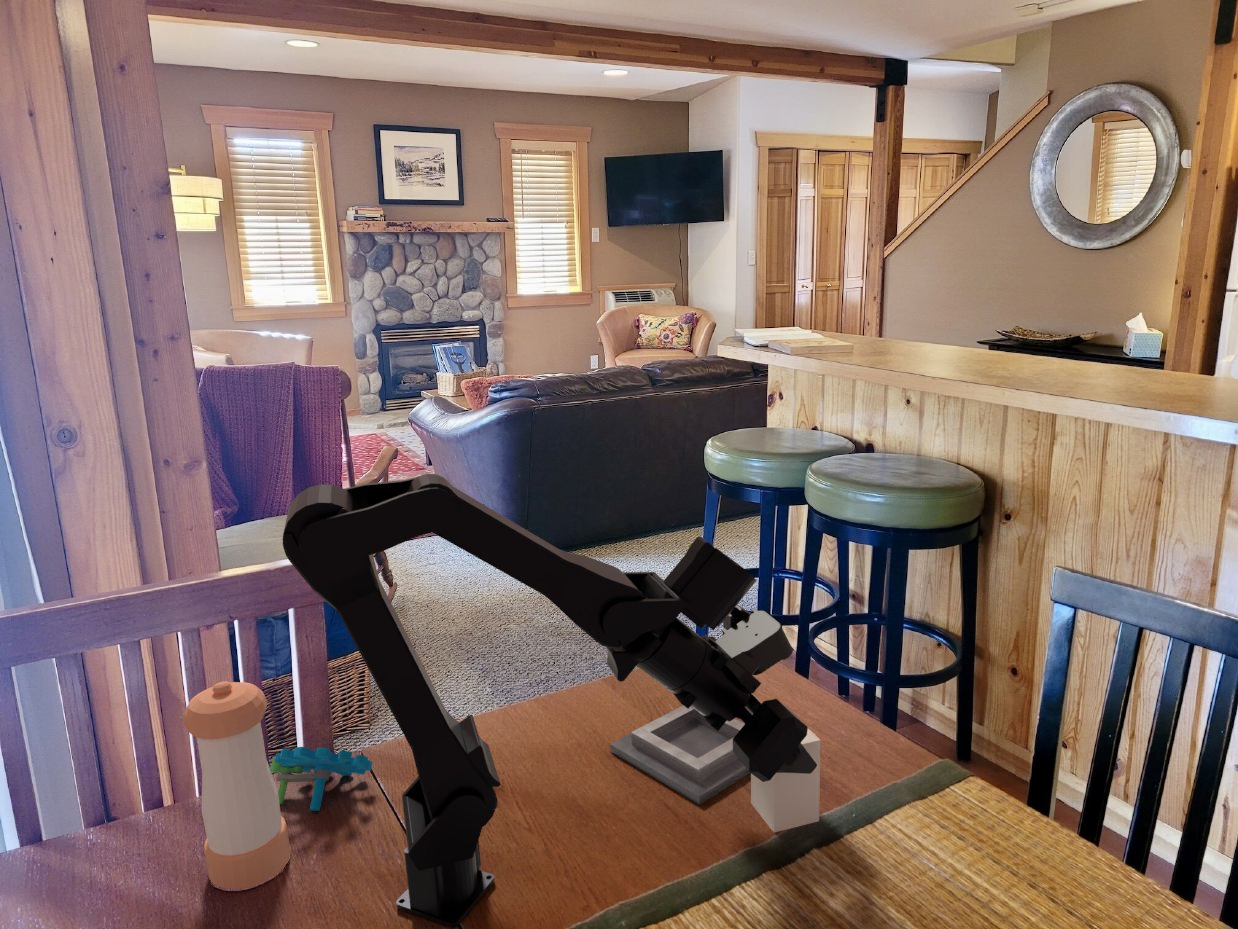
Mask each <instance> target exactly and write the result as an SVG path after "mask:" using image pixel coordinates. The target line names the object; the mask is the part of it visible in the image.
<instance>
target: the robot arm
mask: <svg viewBox="0 0 1238 929" xmlns="http://www.w3.org/2000/svg"><path fill="white" fill-rule="evenodd" d="M289 506H290V507H289V508H288V512H287V515H286V519H285V524H284V529H283V533H282V548H283V550H284V554H285V556H286V558H287V559H288V561H289V562H290V564H291V565H292V567H293V568H294V569H295V570H296V571H297V572H298V574H299V575H300V576H301V577H302V578H303V580H304V581H305V582H306V583H307V585H308V586H309V587H310V588H311V589H312V591H313V592H314V593H316V594H317V595H318V596H319V597H321V598H322V600H323V601H325V602H326V603H327V604H328V605H330V606H331V608H333V609H334V610H335V611H336V613H337V614H338V615H339V617H340V619H341V620H342V622H343V624H344V626H345V628H346V630H347V631H348V633H349V635H350V637H351V639H352V640H353V643H354V644H355V646H356V648H357V650H358V652H359V654H360V655H361V658H362V660H363V661H364V663H365V665H366V666H367V669H368V671H369V672H370V674H371V677H372V678H373V680H374V682H375V683H376V686H377V687H378V690H379V691H380V693H381V695H382V696H383V698H384V701H385V702H386V704H387V706H388V708H389V710H390V712H391V713H392V714H391V715H393V717H394V719H395V721H396V723H397V725H398V726H399V729H400V730H401V732H402V734H403V736H404V738H405V740H406V741H407V744H408V746H409V747H410V750H411V752H412V755H413V761H414V764H415V768H416V772H417V777H416V778H415V780H413V782H412V783H410V785H409V786H408V788H407V789H406V790H405V791H404V792H403V794H402V796H401V798H402V808H403V817H404V824H405V834H406V841H407V842H406V843H407V847H405V849H404V851H403V852H404V853H403V854H404V862H405V863H404V864H405V871H406V880H407V882H406V883H407V889H406V890H405V891H404V892H403V893H402V894H401V895H400V896H399V897H398V898H397V899H396V902H395V904H396V909H398V910H402V911H404V912H407V913H409V914H412V915H415V916H418V917H421V918H424V919H425V920H430V921H432V922H435V923H437V924H438V923H439V924H440V925H444V926H447V927H450V928H455V927H457V926H458V925H459V924H460V923H461V922H462V921H463V920H464V918H465V917H466V916H467V915H468V914H469V912H470V911H471V910H472V909H473V908H474V906H476V904H477V903H478V902H479V901H480V899H482V897H483V896H484V895H485V893H486V892H488V890H489V888H490V887H491V886H492V885H493V884H494V882H495V875H494V874H493V873H490V872H488V871H487V872H486V871H484V870H481V866H482V864H481V863H482V862H481V851H480V842H479V841H480V836H481V833H482V830H483V828H484V827H485V826H486V825H487V824H488V823H489V821H491V819H492V818H493V816H494V814H495V812H496V810H497V809H498V806H499V805H498V803H499V801H498V797H497V794H496V790H495V788H496V787H497V788H498V787H500V786H501V782H500V778H499V775H498V770H497V768H496V766H495V761H494V758H493V756H492V755H493V754H492V752H491V750H490V746H489V744H488V743H487V742H486V741H484V740H483V739H482V738H481V735H480V734H479V731H478V729H477V725H476V722H475V718H474V716H473V714H470V715H468V716H466V717H465V718H464V719H463V720H461V721H460V722H459V721H458V720H457V719H456V718H455V717H453V716H452V715H451V714H450V713H449V712H448V710H447V709H446V708H445V705H444V704H443V702H442V700H441V697H440V696H439V693H438V692H437V690H436V688H435V686H434V684H433V682H432V680H431V678H430V676H429V675H428V672H427V671H426V669H425V667H424V664H423V662H422V660H421V659H420V657H419V655H418V653H417V651H416V649H415V647H414V645H413V643H412V640H411V639H410V637H409V635H408V633H407V631H406V630H405V627H404V625H403V623H402V621H401V619H400V617H399V616H398V614H397V611H396V610H395V606H393V604H392V602H391V600H390V598H389V596H388V594H387V591H386V590H385V587H384V586H383V583H382V582H381V580H380V577H379V573H378V570H377V565H376V561H375V558H374V555H376V554H379V553H382V552H384V551H387V550H389V549H392V548H394V547H396V546H399V545H401V544H403V543H405V542H407V541H410V540H412V539H414V538H417V537H419V536H424V535H428V534H435V535H437V536H438V537H440V538H442V539H443V540H445V541H447V542H449V543H450V544H452V545H454V546H456V547H458V548H460V549H461V550H463V551H465V552H467V553H468V554H470V555H472V556H474V557H475V558H477V559H479V560H481V561H483V562H484V563H486V564H488V565H490V566H491V567H492V568H495V569H497V570H499V571H501V572H502V573H503V574H505V575H507V576H509V577H511V578H512V579H514V580H517V581H518V582H520V583H522V584H523V585H525V586H527V587H528V588H531V589H532V590H534V591H536V592H537V593H539V594H541V595H543V596H545V597H546V598H547V599H548V600H549V601H550V602H552V604H554V605H555V606H556V607H557V608H558V610H560V611H561V612H562V613H563V614H564V615H565V616H566V617H567V618H568V619H569V620H570V621H571V622H573V624H575V625H576V626H577V627H579V629H581V630H582V631H583V632H584V633H585V634H587V635H588V636H589V637H590V638H591V639H592V640H594V641H595V642H596V643H597V644H599V645H600V646H602V647H605V648H606V650H607V658H606V659H607V660H606V665H607V666H608V668H609V669H610V671H611V672H612V674H613V675H614V677H615V679H617V681H618V682H620V683H623V682H624V681H625V680H626V679H627V678H628V677H629V675H631V673H632V672H633V671H634V669H635V668H636V667H637V668H639V669H640V671H643V672H645V674H646V675H648V676H649V677H650V678H652V679H654V680H655V681H656V682H657V683H659V684H660V685H661V686H663V687H664V688H666V689H667V690H668V691H670V693H672V694H673V695H674V697H675V698H676V699H677V701H678V702H679V703H680V704H681V706H683V705H684V706H685V707H686V708H688V709H689V708H690V706H691V707H692V708H694V709H695V710H696V711H698V712H699V713H700V714H702V715H703V717H704V718H705V719H706V720H707V722H708V723H709V724H710V725H711V726H712V727H713V728H715V729H716V730H717V731H719V730H720V728H721V727H722V726H723V725H724V723H725V722H726V721H729V722H730V721H732V720H733V719H739V720H741V722H743V723H745V725H744V726H743V727H742V728H741V729H740V731H739V732H738V733H737V734H736V736H735V737H734V738H733V753H734V754H735V755H736V756H737V758H738V759H739V760H740V761H741V762H742V764H743V765H744V766H745V767H746V769H747V770H748V771H749V772H750V773H749V774H750V775H751V774H753V775H754V776H755V777H757V778H758V779H760V780H761V781H762V782H765V781H770V780H771V779H772V777H773V776H774V775H775V774H776V773H803V774H811V773H812V772H813V771H814V769H815V768H816V767H817V764H816V762H815V761H814V760H813V758H812V757H811V756H810V754H809V753H808V752H807V750H806V749H805V748H804V746H803V745H802V744H801V742H802V740H803V739H804V738H805V737H806V736H807V729H809V727H808V725H807V724H806V723H805V722H803V721H802V720H801V718H800V717H798V716H797V715H796V714H795V713H794V712H793V711H792V710H791V709H790V708H789V707H787V706H786V705H785V704H784V703H783V702H781V701H780V700H779V699H777V698H773V699H768V700H764V701H762V702H761V701H760V700H759V698H757V697H756V695H754V693H755V692H756V691H757V689H758V688H759V687H760V686H761V685H762V682H760V680H759V679H758V678H756V677H755V676H759V675H761V674H763V673H764V672H766V671H767V670H769V669H770V668H772V667H773V666H775V665H776V664H778V663H779V662H780V661H785V660H787V659H788V658H790V657H791V656H792V654H793V651H794V650H793V647H792V645H791V643H790V640H789V639H788V637H787V635H786V633H785V631H784V628H783V627H782V624H781V623H780V622H779V621H778V620H776V619H775V618H774V617H773V616H772V615H770V614H769V613H768V612H766V611H765V610H758V609H756V608H755V607H753V608H752V609H751V612H749V611H748V610H747V609H745V608H743V607H742V606H740V605H739V603H740V602H741V601H742V599H743V598H744V597H745V596H746V594H747V593H748V592H749V591H750V590H751V588H753V586H754V585H755V584H756V582H757V581H758V580H757V579H756V578H755V577H754V576H753V575H752V574H751V573H749V572H748V570H746V569H745V568H744V567H743V566H741V565H740V564H738V563H737V562H736V561H735V560H733V559H732V558H731V557H729V556H728V555H727V554H725V553H724V552H723V551H721V550H720V549H719V548H717V547H715V546H713V545H712V543H710V542H709V541H708V540H706V539H705V538H703V537H702V536H697V537H696V538H695V539H694V541H693V542H692V543H691V544H690V545H689V546H688V549H687V551H686V553H685V554H684V556H683V557H682V558H681V560H679V562H678V563H677V564H676V565H675V567H673V568H672V569H671V571H670V573H669V574H668V575H666V577H665V579H663V578H662V577H660V575H659V574H658V573H656V572H655V571H636V572H635V571H634V572H633V571H629V572H624V571H622V570H621V569H620V568H618V567H617V566H614V565H611V564H609V563H606V562H603V561H600V560H598V559H596V558H592V557H589V556H586V555H581V554H578V553H577V554H576V553H571V552H568V551H567V550H566V551H565V550H564V549H563V550H562V549H560V548H558V547H556V546H554V545H552V544H551V543H549V542H548V541H546V540H545V539H542V538H541V537H539V536H537V535H535V534H534V533H532V532H531V531H529V530H527V529H526V528H524V527H522V526H520V525H519V524H517V523H516V522H514V521H512V520H510V519H508V518H507V517H506V516H503V515H502V514H500V513H498V512H497V511H495V510H494V509H491V508H490V507H488V505H485V504H484V503H482V502H481V501H478V500H476V499H475V498H473V497H471V496H470V495H468V494H467V493H465V492H463V491H461V490H460V489H458V488H456V487H454V485H452V484H451V483H450V482H449V481H448V480H447V479H446V478H445V477H444V476H441V475H439V474H436V473H425V474H422V475H419V476H416V477H411V478H406V479H399V480H390V481H379V482H369V483H364V484H359V485H355V486H351V487H346V488H342V487H340V486H337V485H334V484H322V483H321V484H317V485H316V484H315V485H312V486H310V487H307V488H306V489H304V490H303V491H301V492H299V493H298V494H297V496H296V497H294V499H293V500H292V502H291V504H290V505H289ZM680 614H682V615H683V616H685V617H686V618H687V619H688V620H690V622H692V623H693V624H695V625H696V626H698V628H700V629H701V630H703V629H705V628H704V627H706V626H707V627H708V628H709V629H711V630H712V631H715V630H716V629H717V628H719V627H720V626H721V625H723V628H721V633H722V635H721V636H720V637H719V638H718V639H717V638H716V637H715V636H713V635H712V636H711V635H710V636H708V635H707V634H704V635H702V634H699V633H697V632H696V631H694V629H692V628H691V627H690V626H688V625H687V624H686V623H684V622H683V621H682V620H681V619H679V615H680Z"/></svg>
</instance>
